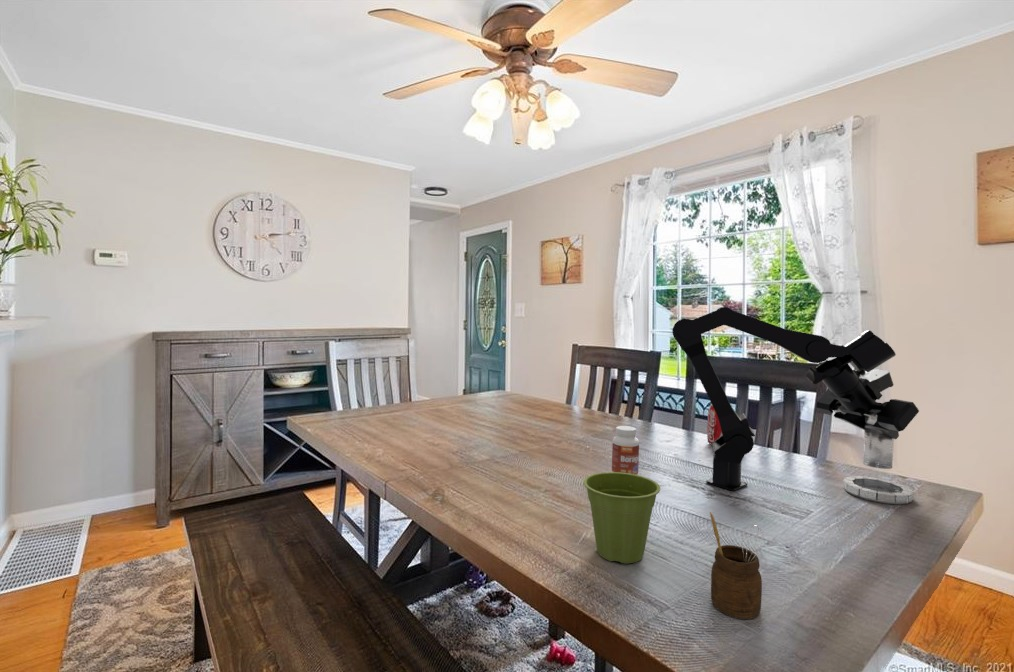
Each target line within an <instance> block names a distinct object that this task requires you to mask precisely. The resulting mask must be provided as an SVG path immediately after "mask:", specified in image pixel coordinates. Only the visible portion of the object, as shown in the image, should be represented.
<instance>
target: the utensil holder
mask: <svg viewBox="0 0 1014 672" xmlns="http://www.w3.org/2000/svg"><path fill="white" fill-rule="evenodd" d="M709 514H710V519H711V525H712V530H713V533H714V536H715V539H716V543H717V548H716V549H715V552H714V561H713V564H712V567H711V575H710V576H711V578H710V579H711V580H710V597H711V598H710V599H711V602H712V604H713V606H714V607H715V608H716V609H717V610H718V611H720V612H721V613H723V615H727V616H728V617H731V618H735V619H740V620H752V619H754V618H756V617H758V616H759V615H760V613H761V608H762V595H763V593H762V592H763V581H762V580H763V579H762V575H761V572H760V571H759V569H760V560H759V557H758V554H759V552H760V551H761V548H762V544H763V539H764V532H763V530H762V528H761V527H759V526H758V525H755V524H751V525H750V524H748V525H747V526H746V527H745V529H744V532H743V534H742V538H741V539H742V540H741V546H738V545H731V544H723V545H721V541H720V539H721V537H720V534H719V531H718V527H717V524H716V519H715V517H714V515H713V514H712V512H711V511H710V512H709ZM750 527H751V528H750ZM755 527H756V529H757V533H759V531H760V532H761V544H760V546H759V548H758V551H757V552H756V553H755V552H754V551H755V548H756V543H757V540H758V536H759V534H756V538H755V543H754V546H753V548H752V550H749V549H748V546H749V545H748V544H749V539H750V535H751V532H752V530H753V529H754V528H755ZM748 528H750V531H749V535H748V537H747V542H746V547H744V543H743V541H744V535H745V533H746V530H747V529H748Z"/></svg>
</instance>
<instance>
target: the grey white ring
mask: <svg viewBox="0 0 1014 672" xmlns="http://www.w3.org/2000/svg"><path fill="white" fill-rule="evenodd" d="M842 480H843V481H842V482H843V483H842V486H843V490H844V491H845V492H846V493H848V494H850V495H851V496H854V497H855V498H856V497H857V498H859V499H862V500H866V501H871V502H875V503H879V504H886V505H894V506H895V505H896V506H897V505H903V506H904V505H909V504H911V503H912V502H913V500H914V491H913V490H912V489H911V488H910V487H908V486H906V485H904V484H902V483H898V482H895V481H892V480H888V479H883V478H880V477H878V478H877V477H872V476H871V477H870V476H864V475H855V476H854V475H851V476H847V477H844V478H843V479H842Z"/></svg>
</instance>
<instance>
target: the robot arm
mask: <svg viewBox="0 0 1014 672" xmlns="http://www.w3.org/2000/svg"><path fill="white" fill-rule="evenodd" d="M723 326H726V327H729V328H732V329H735V330H737V331H740V332H743V333H745V334H749V335H752V336H754V337H756V338H759V339H762V340H765V341H767V342H771V343H772V344H774V345H775V344H776V345H778V346H779V347H781V348H782V349H784V350H786V351H788V352H789V353H791V354H793V356H796V357H798V358H800V359H802V360H804V361H807V362H809V363H812V364H818V365H816V366H814V367H810V366H809V368H808V371H807V372H806V375H805V378H806V379H807V380H808V381H810V383H812V385H817V384H819V383H820V382H822V383H823V384H824V385H825V386H826V388H827V390H825V392H824V393H823V394H822V395H821V397H820V398H819V399H818V400H817V401H816V409H817V410H818V412H820V414H825V415H829V416H832V415H833V418H835V419H839V420H841V421H842V422H843V421H844V422H845V423H848V424H850V425H852V426H854V427H857V428H859V429H861V430H863V431H864V429H865V415H868V416H871V415H872V414H873V413H874V414H876V416H877V421H876V423H875V424H874V425H873V427H875V428H876V429H878V430H880V431H881V432H883V433H885V434H886V435H888V436H890V437H891V438H893V439H894V440H897V439H898V438H899V436H900V434H899V432H902V431H904V430H905V429H906V428H907V427H908V425H909V424H911V422H912V421H913V420H914V419H915V417H917V415H918V413H919V412H920V410H919V408H918V407H917V406H916V404H915V403H914V402H913V401H907V400H902V399H897V398H893V399H891V398H890V399H889V401H884V402H877V400H881V398H882V396H883V395H882V393H881V392H883V391H885V390H887V389H889V388H893V386H894V385H895V384H894V382H893V378H892V376H891V372H890V371H889V370H885V369H877V368H878V367H879V366H881V365H883V364H884V363H886V362H888V361H889V360H891V359H892V358H894V357H895V356H896V355H897V354H896V352H895V350H894V349H893V347H892V346H891V345H889V343H888V342H887V341H884V340H883V339H881V337H879V336H877V335H876V334H875V333H874V332H873V331H872V330H867V329H866V330H865V331H863V332H862V333H860V334H859V335H858V336H857V337H856V338H854V339H852V340H851V341H849V342H848V343H846V344H845V345H843V344H839V343H835V344H834V343H831V341H830V340H829V339H828V338H826V337H824V336H822V335H819V334H815V333H814V334H812V333H807V332H802V331H796V330H792V329H786V328H783V327H781V326H778V325H774V324H772V323H769V322H766V321H763V320H761V319H758V318H755V317H752V316H749V315H747V314H744V313H741V312H739V311H736V310H733V309H731V308H730V307H728V306H727V307H726V306H723V307H722V306H721V307H719V308H717V309H716V310H714V311H712V312H709V313H706V314H704V315H701V316H699V317H696V318H694V319H693V318H686V317H685V318H682V319H679V320H677V321H676V322H675V323H674V325H673V327H672V329H671V330H672V332H671V333H672V337H673V338H674V339H675V341H676V342H677V344H678V345H679V346H680V348H681V349H682V350H683V352H684V353H685V355H686V356H687V358H688V359H689V360H690V361H691V363H692V366H693V368H694V369H695V372H696V374H697V376H698V378H699V381H700V382H701V384H702V386H703V388H704V391H705V393H706V395H707V397H708V398H709V401H710V405H711V404H712V406H713V408H714V410H715V412H716V414H717V416H718V420H719V424H720V427H721V431H722V436H721V437H719V438H718V439H717V440H716V441H714V442H713V446H712V447H713V453H714V454H713V456H712V457H713V458H712V459H713V460H712V477H711V478H709V479H706V480H705V483H706V484H710V485H712V486H716V487H718V488H722V489H726V490H727V491H728V490H729V491H737V490H739V489H742V488H744V487H747V486H748V482H745V481H742V461H743V460H744V457H745V455H747V454H749V453H751V451H752V450H753V448H754V445H755V441H754V438H753V437H756V435H755V432H754V430H753V429H752V427H750V426H749V421H748V418H747V416H746V415H745V413H741V414H737V412H736V411H735V410H734V408H733V405H732V404H731V403H730V401H729V397H728V396H727V394H726V392H725V390H724V387H723V386H722V383H721V381H720V379H719V377H718V375H717V373H716V372H715V369H714V367H713V365H712V363H711V360H710V358H709V357H708V354H707V351H706V348H705V344H704V341H703V336H702V334H704V333H707V332H710V331H713V330H714V329H718V328H719V327H723ZM829 358H832V359H829ZM828 359H829V360H828ZM849 364H850V365H851V366H852V367H851V366H850V365H849ZM731 405H732V406H731ZM833 413H834V414H833Z"/></svg>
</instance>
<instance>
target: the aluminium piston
mask: <svg viewBox="0 0 1014 672" xmlns="http://www.w3.org/2000/svg"><path fill="white" fill-rule="evenodd" d="M876 421H877V416H876V414H874V413H873V414H872V415H871V416H868V415H865V429H864V430H863V451H862V452H863V456H862V464H863V465H865V466H868V467H871V468H876V469H881V470H882V469H883V470H891V469H893V463H894V462H893V461H894V446H895V445H894V444H895V443H894V442H895V439H893V438H891V437H890V436H888V435H886V434H885V433H883V432H881V431H880V430H878V429H876V428H875V427H873V425H874V424H875V423H876Z"/></svg>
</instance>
